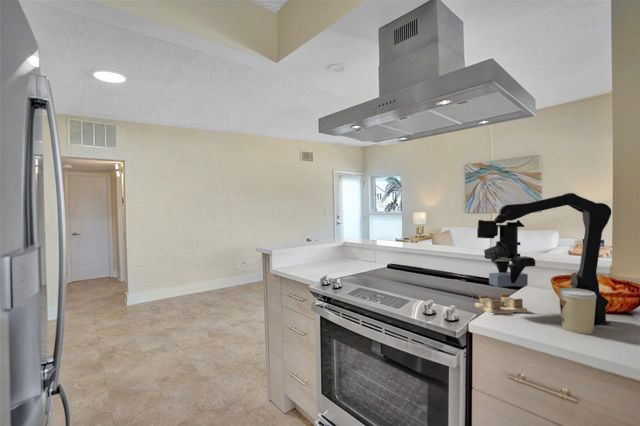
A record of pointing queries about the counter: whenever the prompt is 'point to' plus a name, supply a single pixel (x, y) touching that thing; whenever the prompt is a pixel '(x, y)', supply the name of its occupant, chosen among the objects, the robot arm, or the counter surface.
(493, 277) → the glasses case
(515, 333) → the counter surface
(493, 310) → the display stand
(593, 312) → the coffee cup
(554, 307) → the counter surface
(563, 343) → the counter surface
